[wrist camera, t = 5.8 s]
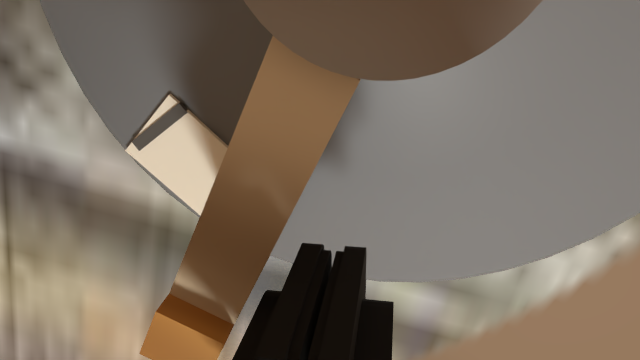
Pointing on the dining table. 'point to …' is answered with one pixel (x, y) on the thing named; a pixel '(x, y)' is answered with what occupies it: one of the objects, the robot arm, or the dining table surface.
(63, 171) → the dining table surface
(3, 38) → the dining table surface
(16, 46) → the dining table surface
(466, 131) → the dial base
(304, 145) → the tan knob handle
